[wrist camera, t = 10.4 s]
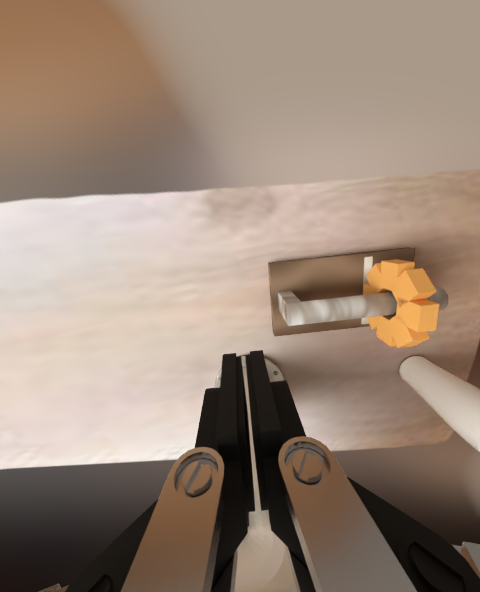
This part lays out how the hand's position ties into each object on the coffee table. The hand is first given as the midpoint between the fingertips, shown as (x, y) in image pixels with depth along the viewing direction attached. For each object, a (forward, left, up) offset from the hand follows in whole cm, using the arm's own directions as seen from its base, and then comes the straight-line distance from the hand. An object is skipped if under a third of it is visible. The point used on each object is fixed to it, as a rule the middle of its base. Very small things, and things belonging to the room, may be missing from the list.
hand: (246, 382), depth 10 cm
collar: (-5, -20, -25) cm, 33 cm away
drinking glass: (-21, -30, -27) cm, 46 cm away
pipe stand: (-5, -16, -27) cm, 32 cm away
